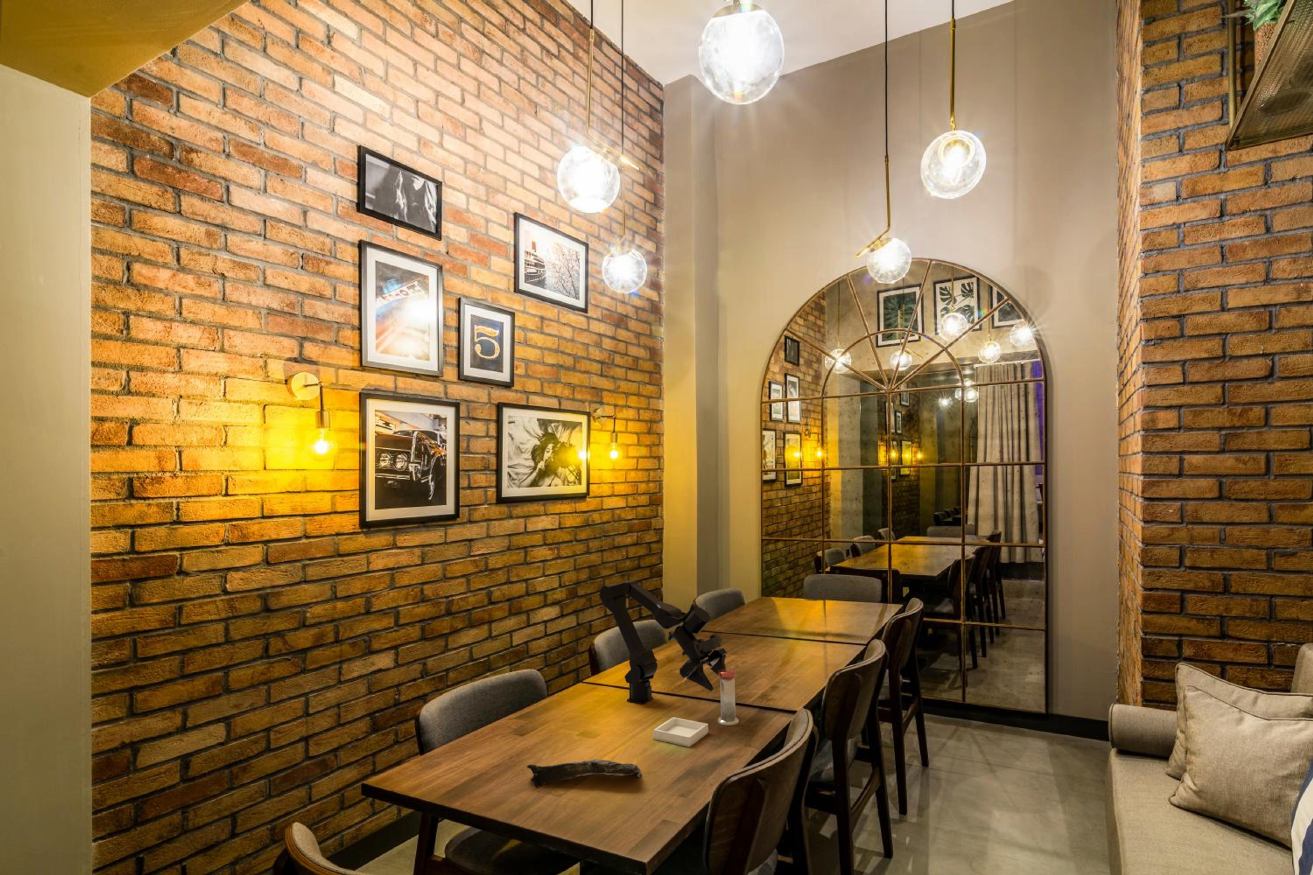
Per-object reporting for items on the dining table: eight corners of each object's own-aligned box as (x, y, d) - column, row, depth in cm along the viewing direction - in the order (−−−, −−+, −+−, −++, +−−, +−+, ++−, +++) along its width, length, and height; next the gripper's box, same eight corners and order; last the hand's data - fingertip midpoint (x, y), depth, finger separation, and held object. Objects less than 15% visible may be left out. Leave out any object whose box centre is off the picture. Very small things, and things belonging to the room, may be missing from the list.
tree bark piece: (525, 794, 160) (519, 781, 152) (533, 756, 165) (527, 742, 158) (639, 804, 158) (639, 792, 151) (642, 766, 164) (642, 752, 157)
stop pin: (714, 723, 194) (713, 672, 195) (723, 717, 199) (722, 667, 200) (733, 727, 191) (732, 675, 192) (741, 720, 196) (740, 669, 197)
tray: (653, 739, 183) (653, 729, 183) (673, 725, 192) (673, 716, 193) (689, 746, 177) (689, 737, 177) (708, 732, 187) (708, 723, 187)
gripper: (686, 632, 194) (719, 677, 186) (721, 620, 209) (753, 662, 201) (665, 655, 198) (697, 700, 191) (700, 643, 213) (731, 684, 205)
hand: (720, 685), depth 197 cm, fingers open, 9 cm apart
